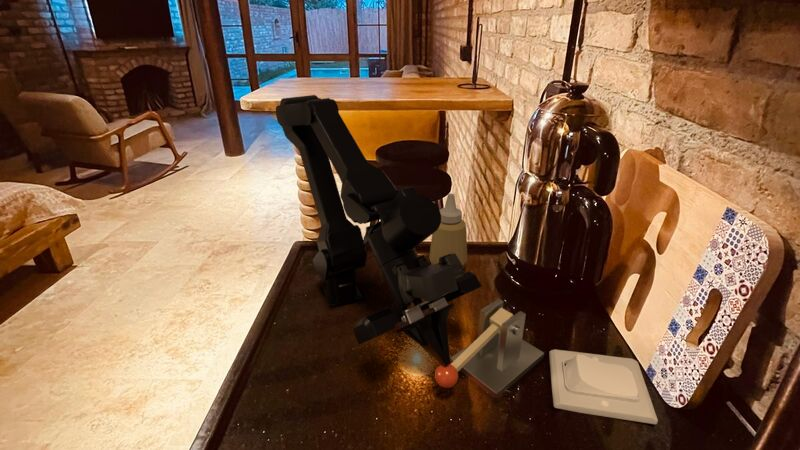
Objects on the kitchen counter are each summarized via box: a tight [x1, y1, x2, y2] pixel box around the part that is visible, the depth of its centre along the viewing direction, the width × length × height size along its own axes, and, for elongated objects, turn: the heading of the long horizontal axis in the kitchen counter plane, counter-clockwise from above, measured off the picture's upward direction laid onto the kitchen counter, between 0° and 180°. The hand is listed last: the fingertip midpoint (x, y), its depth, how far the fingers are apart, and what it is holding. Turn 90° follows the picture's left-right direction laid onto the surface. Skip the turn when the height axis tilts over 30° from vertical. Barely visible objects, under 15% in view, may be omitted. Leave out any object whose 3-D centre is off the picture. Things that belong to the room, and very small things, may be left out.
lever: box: [434, 307, 514, 389], centre depth 58 cm, size 15×3×3 cm, turn 130°
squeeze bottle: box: [428, 193, 468, 270], centre depth 84 cm, size 8×8×18 cm
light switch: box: [548, 349, 659, 425], centre depth 59 cm, size 11×4×13 cm
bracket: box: [450, 298, 545, 400], centre depth 62 cm, size 12×9×10 cm
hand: (446, 365), depth 55 cm, fingers closed
